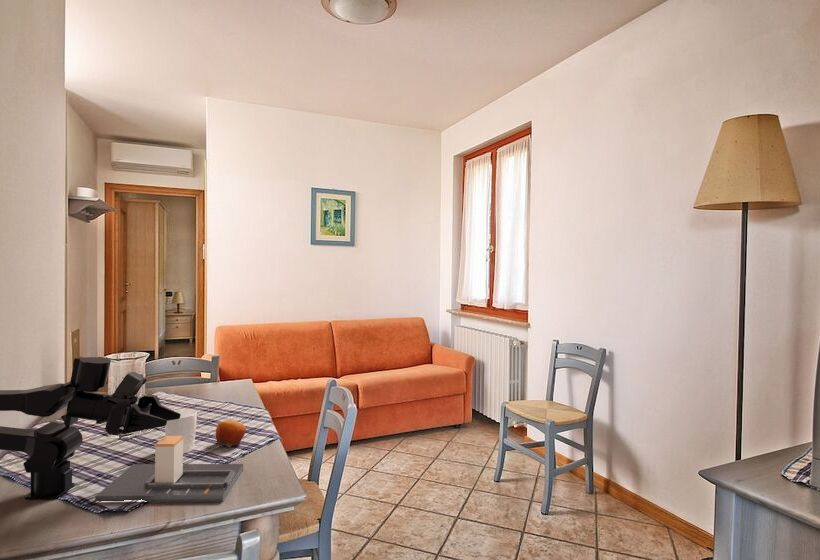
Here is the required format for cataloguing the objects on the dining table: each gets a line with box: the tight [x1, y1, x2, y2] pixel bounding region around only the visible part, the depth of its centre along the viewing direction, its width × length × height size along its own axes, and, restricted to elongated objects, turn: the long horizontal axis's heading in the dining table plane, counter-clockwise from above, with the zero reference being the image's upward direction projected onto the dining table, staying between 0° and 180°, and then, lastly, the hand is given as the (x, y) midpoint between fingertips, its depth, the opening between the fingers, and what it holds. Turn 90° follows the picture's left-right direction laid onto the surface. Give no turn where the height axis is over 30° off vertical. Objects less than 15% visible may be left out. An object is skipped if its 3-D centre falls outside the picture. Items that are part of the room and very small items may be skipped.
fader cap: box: [154, 435, 184, 483], centre depth 107 cm, size 4×5×9 cm
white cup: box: [164, 408, 198, 455], centre depth 128 cm, size 8×8×10 cm
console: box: [94, 463, 244, 504], centre depth 108 cm, size 26×16×2 cm, turn 95°
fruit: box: [215, 419, 247, 450], centre depth 133 cm, size 8×8×8 cm
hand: (173, 419), depth 106 cm, fingers open, 9 cm apart
